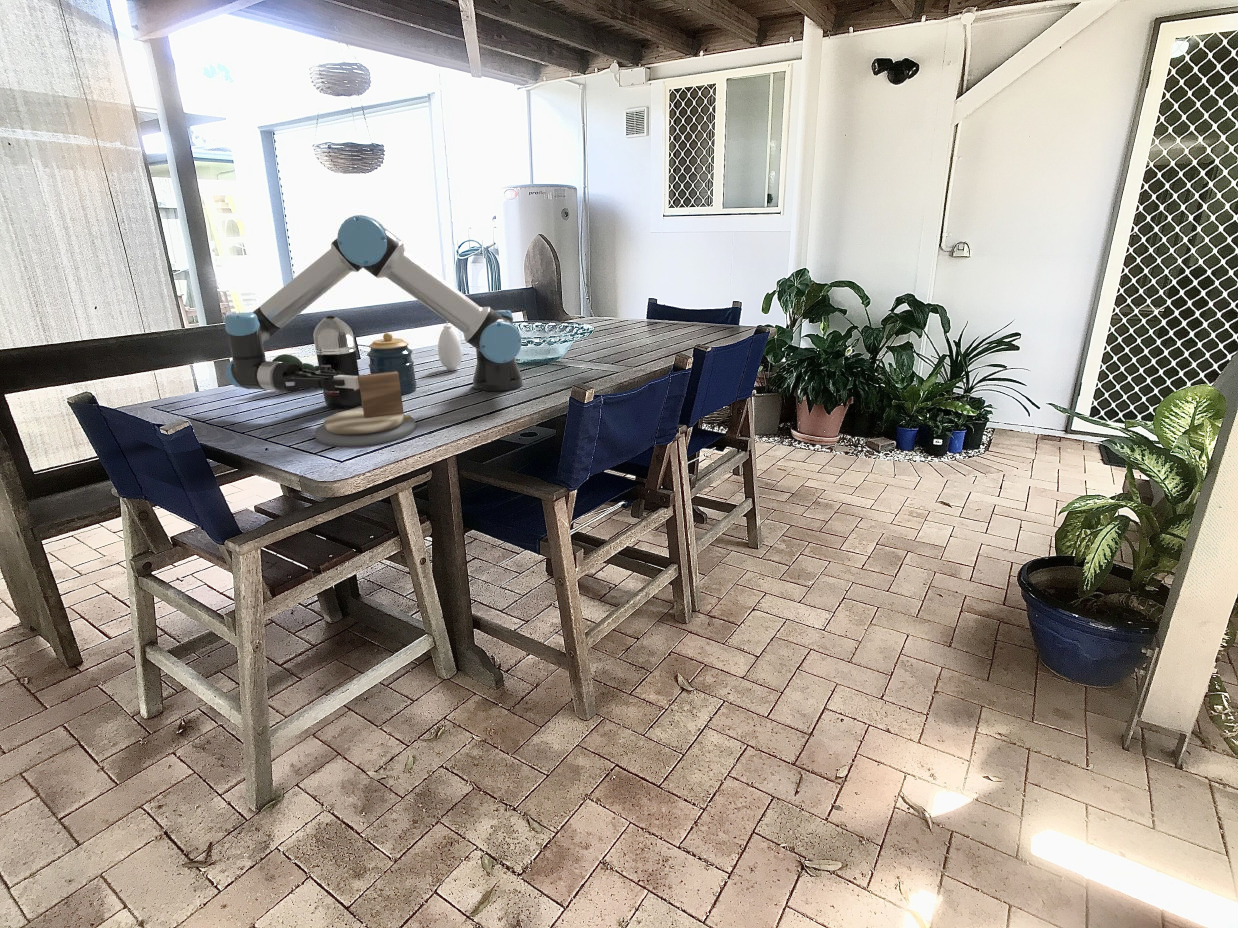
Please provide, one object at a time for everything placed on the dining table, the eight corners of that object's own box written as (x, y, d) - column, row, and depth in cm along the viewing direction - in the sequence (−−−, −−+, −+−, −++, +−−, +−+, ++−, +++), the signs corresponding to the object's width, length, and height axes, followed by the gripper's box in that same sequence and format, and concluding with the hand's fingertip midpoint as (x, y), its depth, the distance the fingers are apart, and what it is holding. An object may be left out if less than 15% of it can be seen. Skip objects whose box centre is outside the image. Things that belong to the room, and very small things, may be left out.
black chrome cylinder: (350, 410, 176) (335, 317, 167) (317, 409, 178) (300, 317, 169) (371, 401, 185) (358, 312, 177) (339, 399, 187) (324, 312, 179)
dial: (411, 426, 154) (404, 379, 150) (329, 438, 146) (320, 388, 142) (396, 409, 168) (390, 365, 164) (321, 419, 160) (313, 373, 156)
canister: (392, 398, 188) (383, 337, 182) (363, 393, 195) (354, 334, 189) (426, 389, 199) (419, 331, 193) (397, 384, 205) (390, 328, 199)
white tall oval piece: (455, 373, 220) (449, 319, 214) (435, 371, 222) (429, 318, 216) (467, 368, 227) (462, 316, 220) (448, 367, 229) (443, 315, 223)
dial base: (419, 415, 171) (418, 409, 170) (411, 442, 149) (410, 434, 149) (326, 421, 166) (325, 414, 166) (305, 450, 145) (303, 442, 144)
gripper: (304, 385, 174) (378, 391, 167) (264, 397, 162) (342, 404, 155) (299, 357, 171) (374, 362, 164) (258, 367, 159) (337, 373, 152)
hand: (358, 382), depth 160 cm, fingers closed
